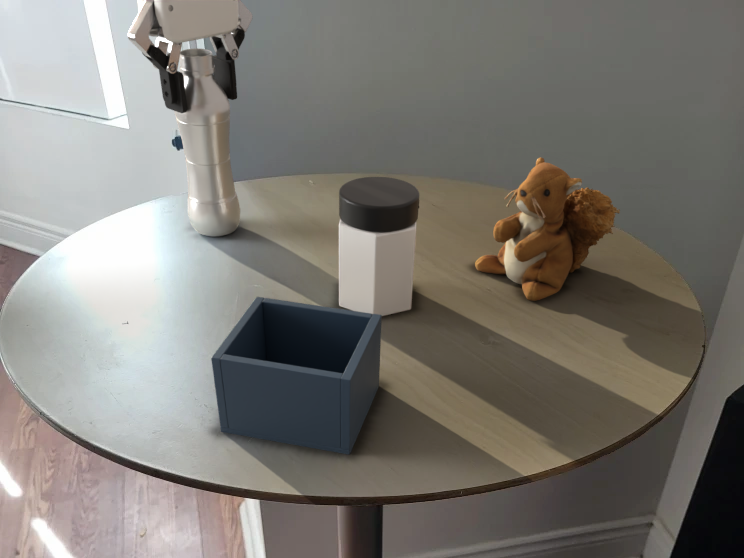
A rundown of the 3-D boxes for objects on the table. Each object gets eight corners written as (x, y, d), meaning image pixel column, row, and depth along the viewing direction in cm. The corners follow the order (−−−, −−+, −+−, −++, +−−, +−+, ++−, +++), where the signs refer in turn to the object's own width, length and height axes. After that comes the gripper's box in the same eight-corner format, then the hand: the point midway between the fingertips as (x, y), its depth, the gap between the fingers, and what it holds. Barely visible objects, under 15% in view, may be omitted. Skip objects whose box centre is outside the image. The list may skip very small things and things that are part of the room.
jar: (429, 296, 87) (438, 188, 79) (390, 327, 82) (396, 215, 73) (362, 274, 90) (364, 169, 82) (321, 302, 85) (319, 192, 77)
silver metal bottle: (192, 245, 95) (166, 62, 81) (188, 222, 99) (164, 45, 86) (245, 241, 96) (228, 60, 82) (239, 218, 101) (222, 44, 87)
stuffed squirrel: (467, 270, 92) (481, 155, 83) (560, 247, 97) (582, 137, 88) (518, 308, 85) (539, 187, 76) (615, 281, 91) (645, 166, 82)
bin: (220, 434, 67) (210, 357, 62) (262, 369, 75) (256, 296, 70) (349, 457, 66) (350, 380, 60) (379, 388, 73) (381, 314, 68)
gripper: (223, -105, 82) (238, 82, 94) (79, -95, 72) (117, 112, 84) (271, -98, 78) (281, 95, 91) (127, -86, 69) (159, 128, 81)
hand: (201, 101), depth 87 cm, fingers closed on silver metal bottle, 6 cm apart
